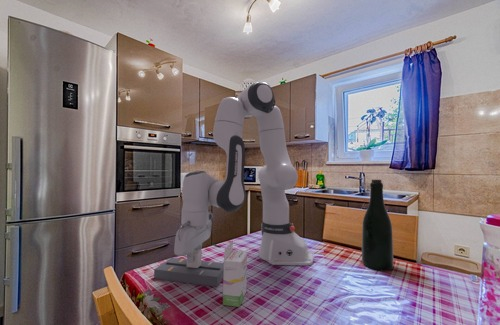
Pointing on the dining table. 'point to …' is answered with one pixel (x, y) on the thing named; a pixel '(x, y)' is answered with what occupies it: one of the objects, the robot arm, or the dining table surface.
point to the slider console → (190, 272)
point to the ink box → (234, 276)
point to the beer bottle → (377, 232)
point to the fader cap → (196, 259)
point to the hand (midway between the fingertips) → (194, 259)
